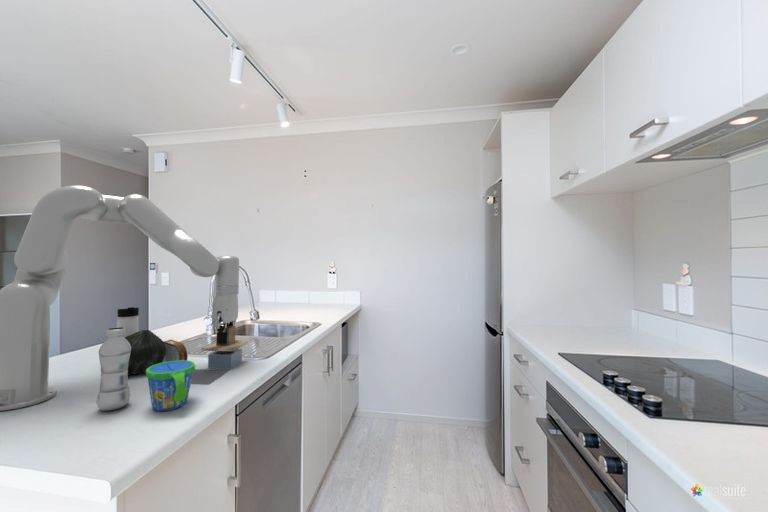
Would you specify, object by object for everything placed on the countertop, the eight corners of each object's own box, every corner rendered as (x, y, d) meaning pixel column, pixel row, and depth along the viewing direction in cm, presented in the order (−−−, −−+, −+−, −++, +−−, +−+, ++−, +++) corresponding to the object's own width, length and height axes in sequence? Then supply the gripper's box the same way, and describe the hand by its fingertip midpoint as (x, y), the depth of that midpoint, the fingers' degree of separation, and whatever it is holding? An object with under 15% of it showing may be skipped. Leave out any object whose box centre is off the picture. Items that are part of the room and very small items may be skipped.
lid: (201, 350, 110) (202, 330, 110) (218, 342, 121) (219, 323, 121) (233, 351, 110) (234, 330, 110) (247, 343, 121) (248, 324, 121)
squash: (109, 353, 110) (112, 324, 103) (162, 347, 120) (168, 321, 113) (107, 390, 102) (110, 362, 95) (164, 381, 111) (171, 355, 104)
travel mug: (118, 365, 114) (120, 308, 115) (113, 361, 118) (115, 306, 119) (140, 361, 119) (141, 306, 120) (134, 357, 123) (135, 305, 124)
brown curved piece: (188, 367, 113) (188, 343, 113) (178, 370, 110) (179, 345, 110) (167, 360, 121) (167, 337, 121) (157, 362, 118) (158, 339, 118)
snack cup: (200, 410, 81) (201, 369, 81) (149, 423, 74) (150, 379, 74) (186, 391, 92) (187, 355, 93) (141, 401, 85) (142, 362, 85)
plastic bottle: (102, 416, 77) (105, 332, 77) (92, 409, 80) (94, 328, 81) (134, 406, 82) (136, 327, 83) (123, 400, 86) (125, 324, 86)
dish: (231, 369, 111) (231, 355, 111) (208, 369, 111) (208, 354, 111) (241, 362, 119) (241, 348, 119) (220, 362, 119) (220, 348, 119)
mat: (208, 385, 96) (209, 384, 97) (165, 385, 97) (166, 383, 97) (230, 371, 110) (230, 370, 110) (192, 370, 110) (192, 369, 110)
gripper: (228, 288, 124) (227, 336, 124) (203, 292, 107) (201, 347, 107) (247, 288, 124) (246, 336, 124) (225, 292, 107) (224, 348, 107)
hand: (225, 341), depth 115 cm, fingers closed on lid, 4 cm apart
